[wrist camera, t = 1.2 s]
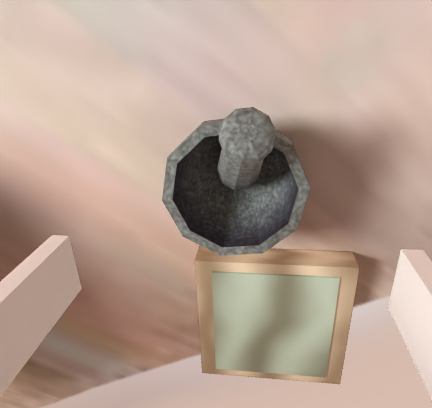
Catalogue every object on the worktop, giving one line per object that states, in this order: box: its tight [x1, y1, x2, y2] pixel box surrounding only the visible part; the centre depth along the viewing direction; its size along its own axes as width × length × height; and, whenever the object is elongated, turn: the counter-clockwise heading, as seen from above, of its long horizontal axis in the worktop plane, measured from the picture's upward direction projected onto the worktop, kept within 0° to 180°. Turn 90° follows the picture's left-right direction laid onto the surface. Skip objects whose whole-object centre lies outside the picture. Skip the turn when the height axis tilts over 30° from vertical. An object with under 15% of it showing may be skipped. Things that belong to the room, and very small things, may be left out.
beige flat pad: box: [195, 246, 359, 384], centre depth 34 cm, size 14×14×3 cm
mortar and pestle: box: [162, 107, 310, 256], centre depth 23 cm, size 11×9×12 cm
